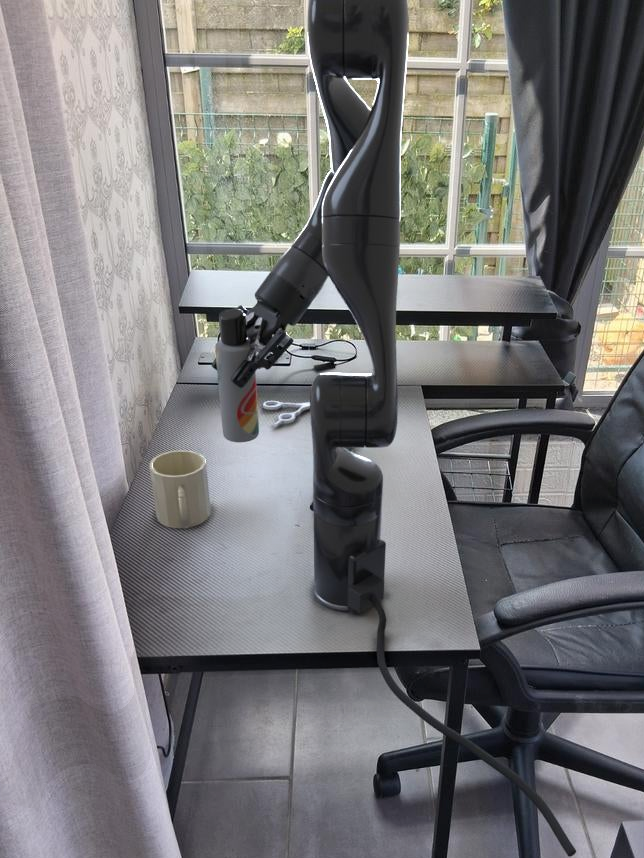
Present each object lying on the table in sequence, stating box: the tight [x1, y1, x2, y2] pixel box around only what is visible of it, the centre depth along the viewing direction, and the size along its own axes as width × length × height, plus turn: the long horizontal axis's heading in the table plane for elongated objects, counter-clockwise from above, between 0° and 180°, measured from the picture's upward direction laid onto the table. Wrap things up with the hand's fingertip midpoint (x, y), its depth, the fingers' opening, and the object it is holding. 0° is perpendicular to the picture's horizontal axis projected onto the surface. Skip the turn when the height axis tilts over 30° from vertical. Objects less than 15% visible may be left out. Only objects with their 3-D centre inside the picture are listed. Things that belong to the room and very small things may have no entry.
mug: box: [148, 449, 211, 529], centre depth 126 cm, size 12×9×10 cm
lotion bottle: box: [214, 308, 260, 443], centre depth 121 cm, size 6×6×20 cm
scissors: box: [262, 400, 310, 428], centre depth 165 cm, size 11×1×20 cm
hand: (226, 376), depth 119 cm, fingers closed on lotion bottle, 5 cm apart
